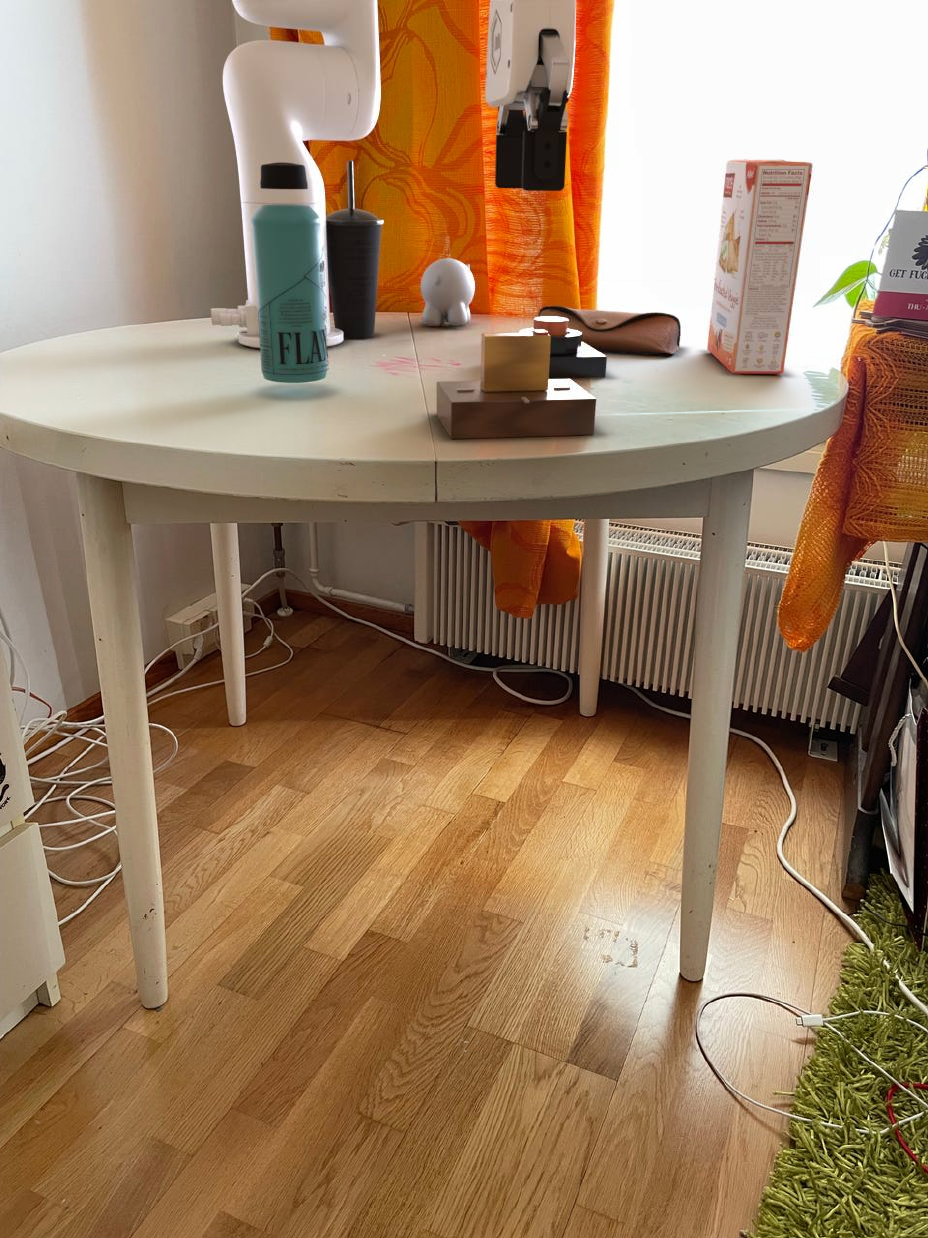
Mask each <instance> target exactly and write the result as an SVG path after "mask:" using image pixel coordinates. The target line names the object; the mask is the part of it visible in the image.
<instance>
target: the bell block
mask: <svg viewBox="0 0 928 1238" xmlns="http://www.w3.org/2000/svg"><path fill="white" fill-rule="evenodd" d="M533 330H534V327H530V328H522V329H521V330H519V331H518V333H533ZM607 361H608V356H606V355H605V354H603V352H598V351H597V350H595V349H594V348H592V347H590V346H589V345H587V344H585V343H584V342H582V333H581V332H579V331H577V330H571V329H568V332H567V335H554V336H551V342H550V362H549V379H593V378H595V379H596V378H597V379H598V378H606V377H607V376H606V375H607Z"/></svg>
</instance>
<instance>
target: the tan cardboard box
mask: <svg viewBox="0 0 928 1238" xmlns="http://www.w3.org/2000/svg"><path fill="white" fill-rule="evenodd" d="M550 342H551V336H550V335H549V334H548V332H547V331H546V330H533V333H519V332H482V333H481V342H480V344H481V348H480V349H481V351H480V381H481V386H480V387H481V389H482V390H483V391H484V392H499V391H543V390H548V381H549V362H550Z"/></svg>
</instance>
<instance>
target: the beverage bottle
mask: <svg viewBox="0 0 928 1238" xmlns="http://www.w3.org/2000/svg"><path fill="white" fill-rule="evenodd" d="M260 187H261V189H308V183H307V179H306V170H305V166H304V165H299V164H294V163H286V162H278V163H270V164H264V165H261V181H260ZM251 224H252V230H253V244H254V257H255V271H256V284H257V297H258V324H259V338H260V348H259V350H260V352H259V353H260V366H261V373H262V377H263V379H264V380H266V381H269V382H275V383H282V384H283V383H285V384H301V383H310V382H318V381H321V380H324V379H326V377H327V375H328V370H329V369H330V366H329V364H330V363H329V360H328V359H329V352H328V351H329V350H328V348H329V346H327V344H326V336H327V328H326V325H325V319H326V318H327V316H326V314H325V313H326V312H325V308H326V307H325V308H324V295H325V294H324V286H325V285H323V284H325V282H324V278H325V273H324V278H323V270H325V269H324V262H323V261H322V255H323V253H322V250H324V248H322V244H321V228H320V225H321V218H320V217H319V215H318V214H317V213H316V212H315V211H314V210H313V209H312V208H311V207H310V206H307V205H287V204H277V205H262V206H261V207H260V208H259V209H258V210H257V211H256V212H255V214H254V215H253V216H252V218H251ZM323 282H324V283H323ZM325 299H326V298H325ZM325 316H326V318H325ZM327 338H328V337H327ZM327 340H328V339H327ZM327 343H328V341H327Z"/></svg>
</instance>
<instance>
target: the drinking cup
mask: <svg viewBox="0 0 928 1238" xmlns="http://www.w3.org/2000/svg"><path fill="white" fill-rule="evenodd" d="M346 167H347V169H346V170H347V171H346V173H347V198H348V199H347V202H348V203H347V204H348V208H342V209H338V210H335V211H332V212H331V213H329V214H326V235H327V259H328V283H329V294H330V299H331V308H332V309H331V310H332V317H333V325H334V328H338V329H340V330H342V331H343V339H345V340H346V339H347V340H361V339H362V340H363V339H371V338H373V337H375V326H376V324H375V323H376V313H377V312H376V311H377V297H378V281H379V268H380V267H379V266H380V252H381V251H380V250H381V240H382V239H381V238H382V226H383V225H384V224H385V221H384V219H382V218H379V217H378V216H376V215H375V214H374V213H372V212H370V211H367V210H364V209H360V208H355V189H354V188H355V187H354V185H355V184H354V183H355V182H354V161H353V160H346Z"/></svg>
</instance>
